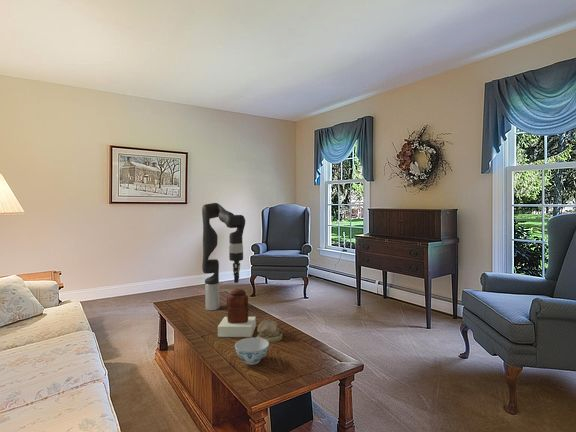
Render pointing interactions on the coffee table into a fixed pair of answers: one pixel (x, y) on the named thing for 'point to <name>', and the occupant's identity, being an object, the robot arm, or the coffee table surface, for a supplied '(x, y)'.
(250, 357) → the chinaware
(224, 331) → the cream white square block
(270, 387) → the coffee table surface
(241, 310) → the wooden figurine
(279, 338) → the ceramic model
